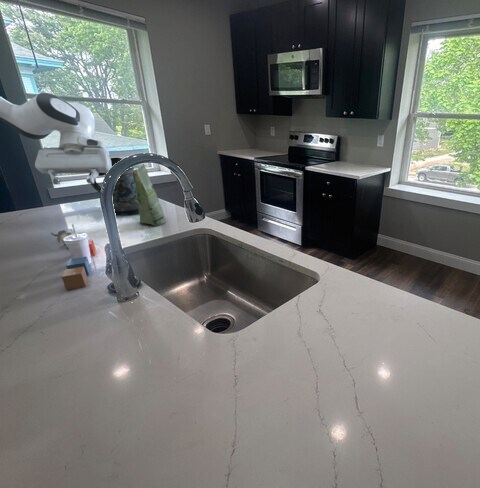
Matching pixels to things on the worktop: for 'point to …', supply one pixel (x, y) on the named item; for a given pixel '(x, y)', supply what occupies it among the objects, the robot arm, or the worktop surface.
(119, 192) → the beer stein
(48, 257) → the worktop surface
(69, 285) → the block row
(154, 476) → the worktop surface
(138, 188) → the pouch
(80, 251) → the smoothie
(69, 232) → the eagle figurine
